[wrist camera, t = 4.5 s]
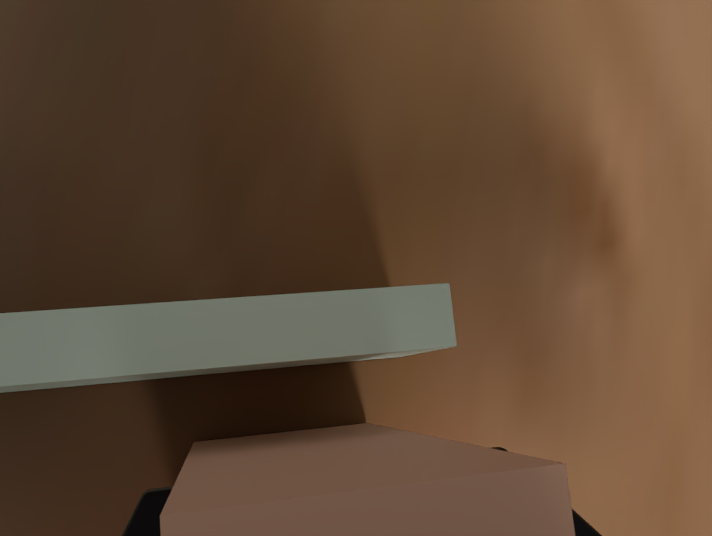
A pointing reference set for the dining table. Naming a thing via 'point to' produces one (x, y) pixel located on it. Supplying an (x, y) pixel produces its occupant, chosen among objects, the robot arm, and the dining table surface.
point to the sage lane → (220, 335)
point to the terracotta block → (364, 487)
